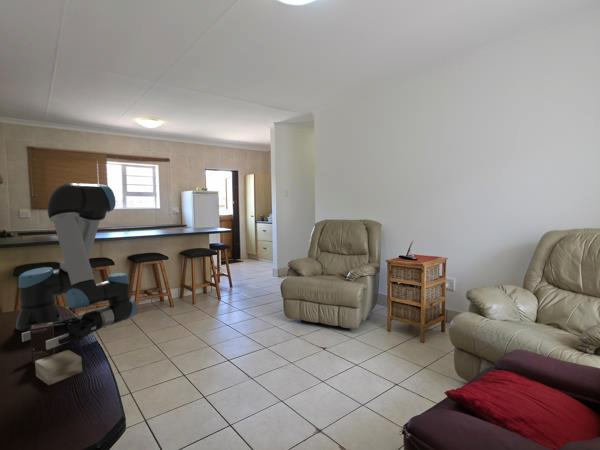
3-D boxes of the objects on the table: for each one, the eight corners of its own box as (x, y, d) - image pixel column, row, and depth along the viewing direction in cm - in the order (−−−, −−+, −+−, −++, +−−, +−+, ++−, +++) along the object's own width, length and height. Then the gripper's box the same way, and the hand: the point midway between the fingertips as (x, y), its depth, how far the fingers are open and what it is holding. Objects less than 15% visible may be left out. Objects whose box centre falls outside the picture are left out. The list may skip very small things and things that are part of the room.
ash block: (69, 364, 110) (68, 349, 109) (82, 372, 105) (81, 357, 104) (36, 376, 102) (34, 361, 102) (48, 386, 97) (47, 369, 97)
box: (31, 365, 108) (29, 329, 107) (33, 359, 112) (31, 324, 111) (54, 360, 112) (52, 325, 111) (55, 354, 116) (53, 320, 114)
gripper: (119, 334, 123) (58, 360, 104) (77, 323, 134) (13, 345, 114) (119, 315, 123) (56, 337, 103) (76, 305, 133) (12, 323, 114)
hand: (34, 341), depth 109 cm, fingers open, 13 cm apart
